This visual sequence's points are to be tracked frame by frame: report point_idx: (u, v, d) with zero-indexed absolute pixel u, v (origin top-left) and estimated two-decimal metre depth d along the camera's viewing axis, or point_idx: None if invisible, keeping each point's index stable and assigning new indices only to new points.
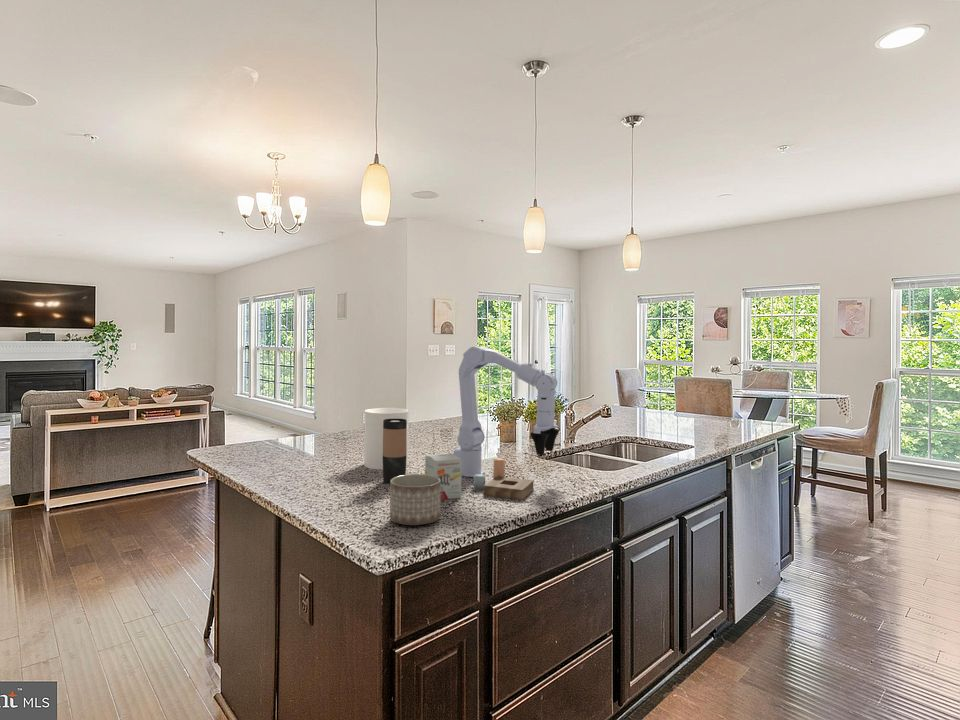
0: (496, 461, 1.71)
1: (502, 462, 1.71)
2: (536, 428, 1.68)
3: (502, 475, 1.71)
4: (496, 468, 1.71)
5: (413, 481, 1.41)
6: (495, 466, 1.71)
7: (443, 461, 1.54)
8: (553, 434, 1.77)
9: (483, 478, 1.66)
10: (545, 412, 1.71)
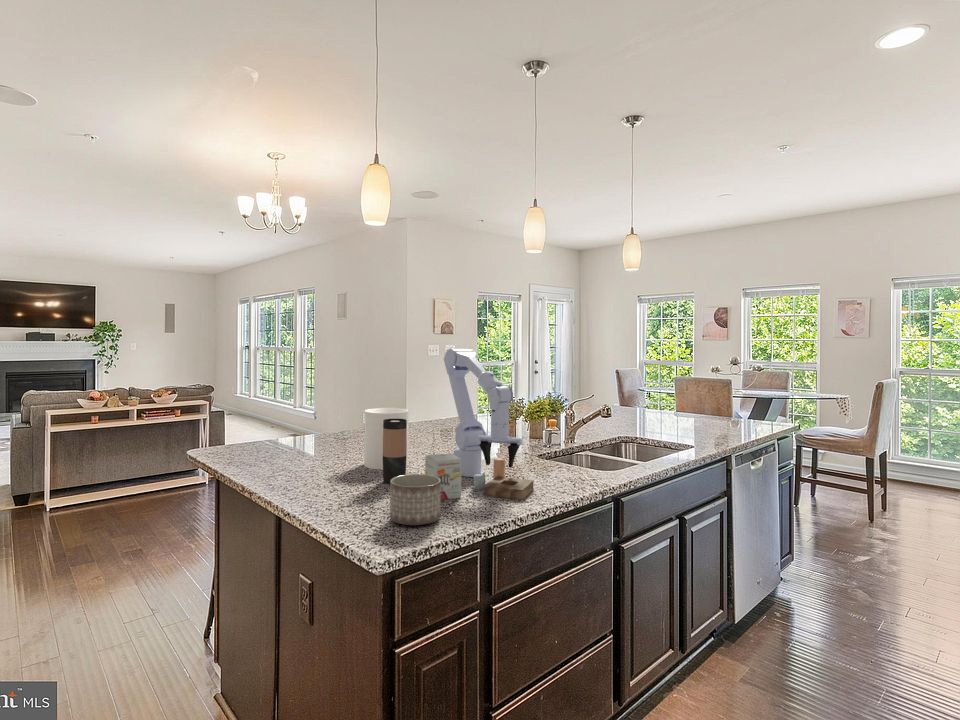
0: (496, 461, 1.71)
1: (502, 462, 1.71)
2: None
3: (502, 475, 1.71)
4: (496, 468, 1.71)
5: (413, 481, 1.41)
6: (495, 466, 1.71)
7: (443, 461, 1.54)
8: None
9: (483, 478, 1.66)
10: None
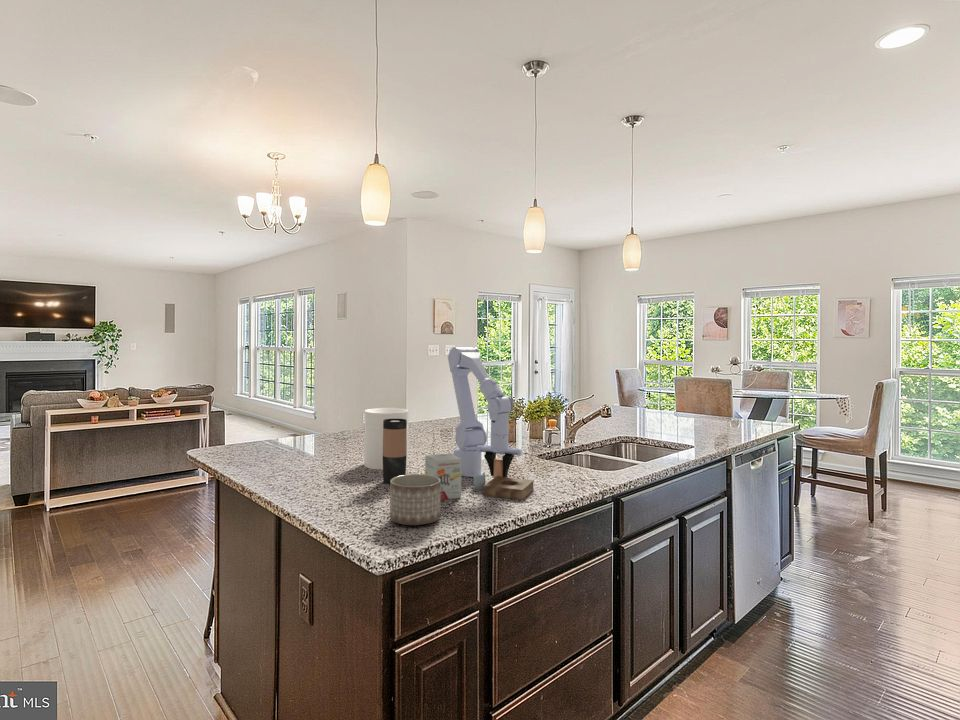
0: (496, 461, 1.71)
1: (502, 462, 1.71)
2: None
3: (502, 475, 1.71)
4: (496, 468, 1.71)
5: (413, 481, 1.41)
6: (495, 466, 1.71)
7: (443, 461, 1.54)
8: None
9: (483, 478, 1.66)
10: None
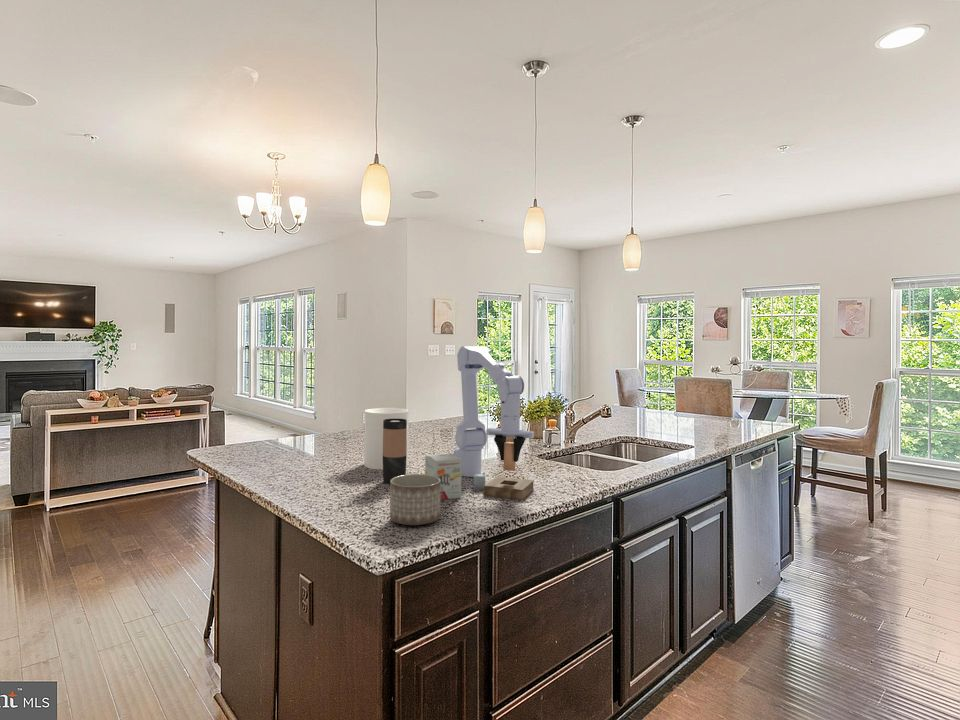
0: (507, 445, 1.61)
1: (513, 446, 1.61)
2: None
3: (513, 459, 1.61)
4: (506, 452, 1.61)
5: (413, 481, 1.41)
6: (506, 450, 1.61)
7: (443, 461, 1.54)
8: None
9: (483, 478, 1.66)
10: None
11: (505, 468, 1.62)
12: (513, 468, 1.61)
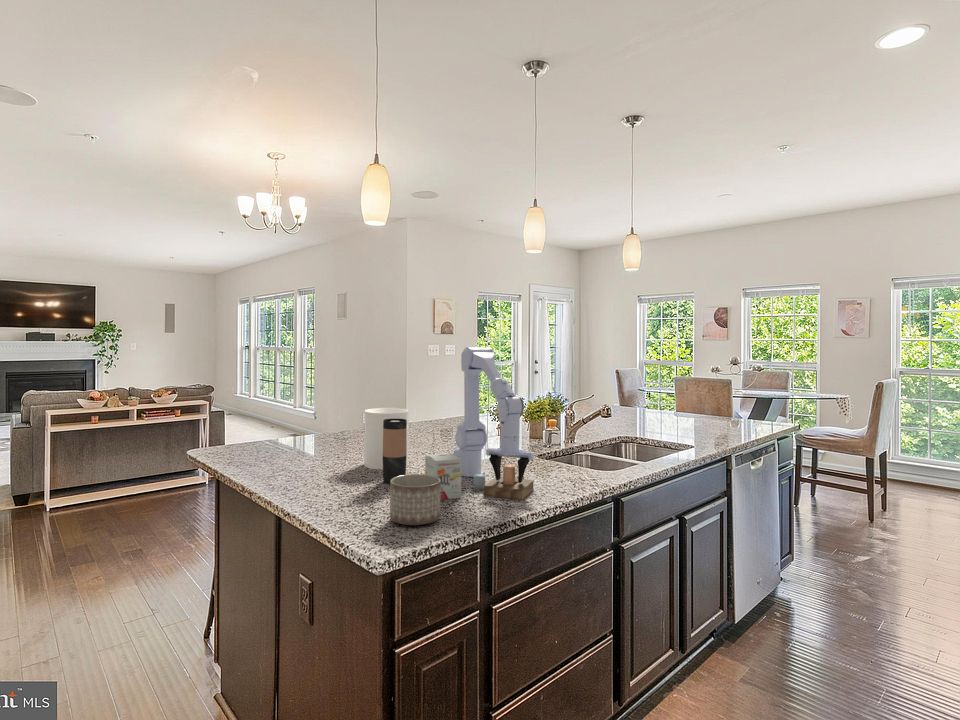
0: (506, 468, 1.61)
1: (512, 469, 1.61)
2: None
3: (513, 483, 1.62)
4: (506, 476, 1.61)
5: (413, 481, 1.41)
6: (505, 473, 1.62)
7: (443, 461, 1.54)
8: None
9: (483, 478, 1.66)
10: None
11: None
12: None
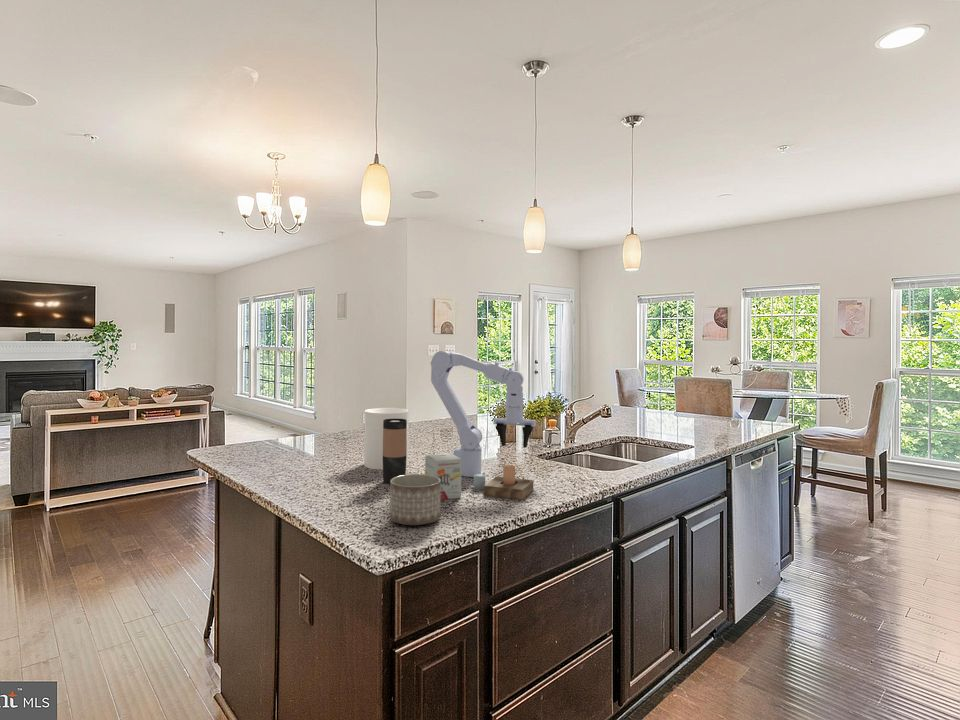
0: (506, 468, 1.61)
1: (513, 469, 1.61)
2: None
3: (513, 483, 1.62)
4: (506, 476, 1.61)
5: (413, 481, 1.41)
6: (505, 473, 1.62)
7: (443, 461, 1.54)
8: None
9: (483, 478, 1.66)
10: (506, 406, 1.82)
11: None
12: None
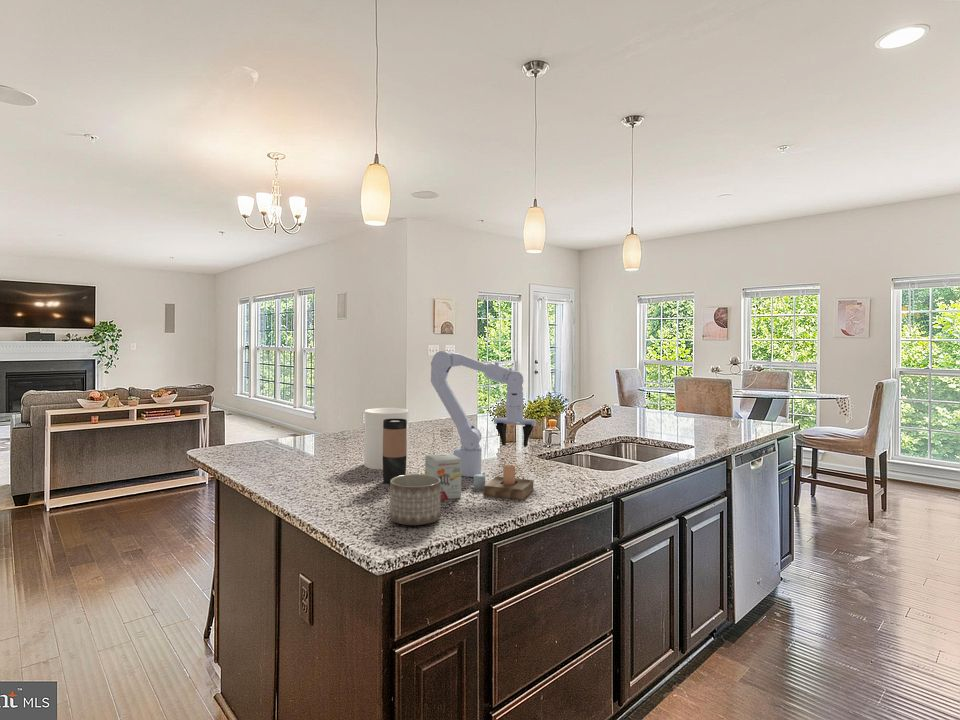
0: (506, 468, 1.61)
1: (513, 469, 1.61)
2: None
3: (513, 483, 1.62)
4: (506, 476, 1.61)
5: (413, 481, 1.41)
6: (505, 473, 1.62)
7: (443, 461, 1.54)
8: None
9: (483, 478, 1.66)
10: (506, 406, 1.83)
11: None
12: None
